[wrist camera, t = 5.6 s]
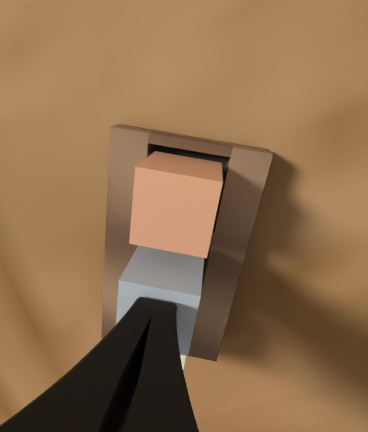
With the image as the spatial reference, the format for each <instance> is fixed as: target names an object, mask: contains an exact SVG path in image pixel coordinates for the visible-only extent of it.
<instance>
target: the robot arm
mask: <svg viewBox="0 0 368 432" xmlns="http://www.w3.org/2000/svg"><path fill="white" fill-rule="evenodd" d="M0 432H199V430H198V427H197V424H196V420H195V417H194V414H193V410H192V406H191V403H190V399H189V395H188V391H187V386H186V382H185V378H184V373H183V368H182V363H181V357H180V350H179V344H178V336H177V306H176V304H174V303H169V302H164V301H159V300H154V299H149V298H144V297H139V298H137V299H136V301H135V302H134V303H133V305H132V306H131V307H130V309H129V310H128V311H127V312H126V313H125V315H124V316H123V317H122V318H121V319H120V321H119V322H118V323H117V324H116V325H115V326H114V327H113V328H112V329H111V330H110V332H109V333H108V334H107V335H106V336H105V337H104V338H103V339H102V340H101V341H100V342H99V343H98V344H97V345H96V346H95V347H94V348H93V349H92V350H91V351H90V352H89V353H88V354H87V355H86V356H85V357H84V358H83V359H82V360H81V361H80V362H78V363H77V364H76V365H75V366H74V367H73V368H72V369H71V370H70V371H69V372H67V373H66V374H65V375H64V376H63V377H62V378H60V379H59V380H58V381H57V382H56V383H55V384H53V385H52V386H51V387H50V388H49V389H47V390H46V391H45V392H44V393H42V394H41V395H40V396H39V397H37V398H36V399H35V400H33V401H32V402H31V403H30V404H28V405H27V406H26V407H24V408H23V409H22V410H20V411H19V412H18V413H17V414H15V415H14V416H12V417H11V418H10V419H8V420H7V421H6V422H4V423H3V424H2V425H0Z"/></svg>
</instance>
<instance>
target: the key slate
mask: <svg viewBox="0 0 368 432" xmlns="http://www.w3.org/2000/svg"><path fill="white" fill-rule="evenodd" d="M203 266H204V258H202V257H197V256H192V255H186V254H181V253H176V252H170V251H165V250H160V249H155V248H149V247H144V246H139V245H138V247H137V249H136V250H135V252H134V254H133V256H132V258H131V259H130V261H129V263H128V265H127V267H126V268H125V270H124V272H123V274H122V275H121V277H120V279H119V285H118V300H117V315H116V324H117V323H118V322H119V321H120V319H121V318H122V317H123V316H124V315H125V313H126V312H127V311H128V310H129V309H130V307H131V306H132V305H133V303H134V302H135V301H136V299H137V298H139V297H144V298H149V299H154V300H159V301H164V302H169V303H174V304H176V306H177V336H178V344H179V350H180V355H185V356H188V353H189V349H190V344H191V339H192V335H193V330H194V326H195V321H196V316H197V312H198V307H199V302H200V298H201V288H202V277H203Z"/></svg>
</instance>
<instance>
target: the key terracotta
mask: <svg viewBox="0 0 368 432" xmlns="http://www.w3.org/2000/svg"><path fill="white" fill-rule="evenodd" d="M222 184H223V175H222V163H221V162H215V161H209V160H203V159H198V158H192V157H186V156H180V155H174V154H169V153H163V152H157V151H155V152H153V153H152V154H151V155H150V156H148V157H147V158H146V159H144V160H143V161H142V162H141V163H139V164H138V165H137V166H135V176H134V188H133V201H132V213H131V226H130V239H129V244H134V245H139V246H144V247H149V248H155V249H160V250H165V251H170V252H176V253H181V254H186V255H192V256H197V257H202V258H207V255H208V250H209V245H210V241H211V236H212V231H213V227H214V222H215V217H216V212H217V208H218V203H219V198H220V193H221V189H222Z"/></svg>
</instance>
